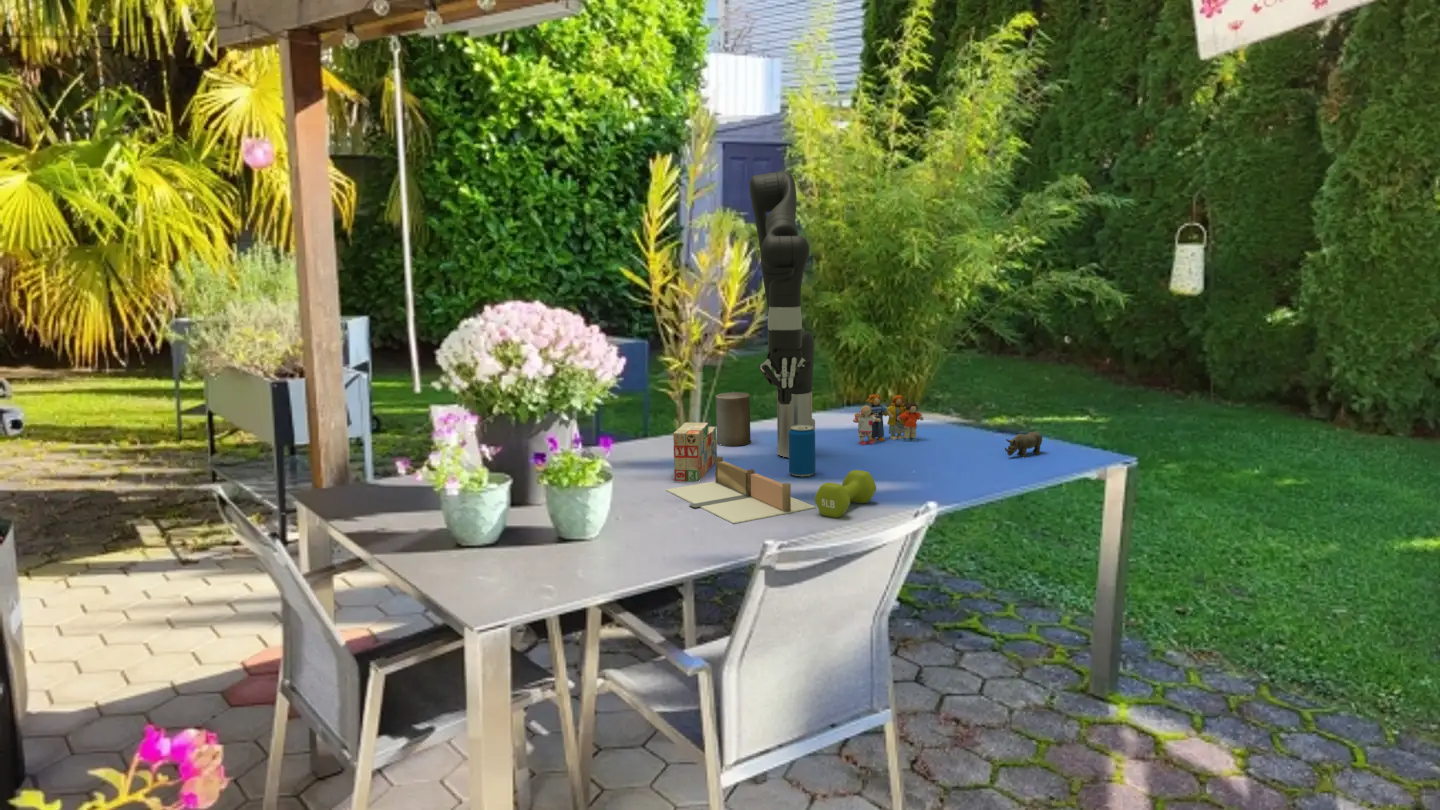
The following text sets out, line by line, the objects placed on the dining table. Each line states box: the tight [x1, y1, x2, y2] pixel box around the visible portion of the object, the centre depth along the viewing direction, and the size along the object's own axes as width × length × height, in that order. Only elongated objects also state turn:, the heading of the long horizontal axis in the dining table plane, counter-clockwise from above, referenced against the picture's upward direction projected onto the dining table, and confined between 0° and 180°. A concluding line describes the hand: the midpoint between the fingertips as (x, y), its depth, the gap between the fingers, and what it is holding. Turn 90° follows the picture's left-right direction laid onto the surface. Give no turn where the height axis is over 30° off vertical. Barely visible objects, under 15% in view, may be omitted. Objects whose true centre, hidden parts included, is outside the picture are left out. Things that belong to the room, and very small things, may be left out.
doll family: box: [852, 393, 924, 446], centre depth 290 cm, size 21×10×13 cm, turn 104°
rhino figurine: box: [1004, 431, 1043, 458], centre depth 269 cm, size 4×14×6 cm, turn 122°
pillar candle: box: [715, 390, 752, 447], centre depth 289 cm, size 10×10×15 cm
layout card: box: [665, 480, 816, 524], centre depth 234 cm, size 23×31×1 cm
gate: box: [751, 472, 792, 511], centre depth 228 cm, size 2×14×6 cm, turn 30°
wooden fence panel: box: [714, 456, 755, 496], centre depth 241 cm, size 2×16×6 cm, turn 30°
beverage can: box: [788, 425, 816, 477], centre depth 253 cm, size 6×6×12 cm
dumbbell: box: [814, 469, 877, 519], centre depth 225 cm, size 16×8×7 cm, turn 145°
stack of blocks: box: [672, 422, 718, 482], centre depth 259 cm, size 21×6×12 cm, turn 168°
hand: (784, 403), depth 231 cm, fingers closed
